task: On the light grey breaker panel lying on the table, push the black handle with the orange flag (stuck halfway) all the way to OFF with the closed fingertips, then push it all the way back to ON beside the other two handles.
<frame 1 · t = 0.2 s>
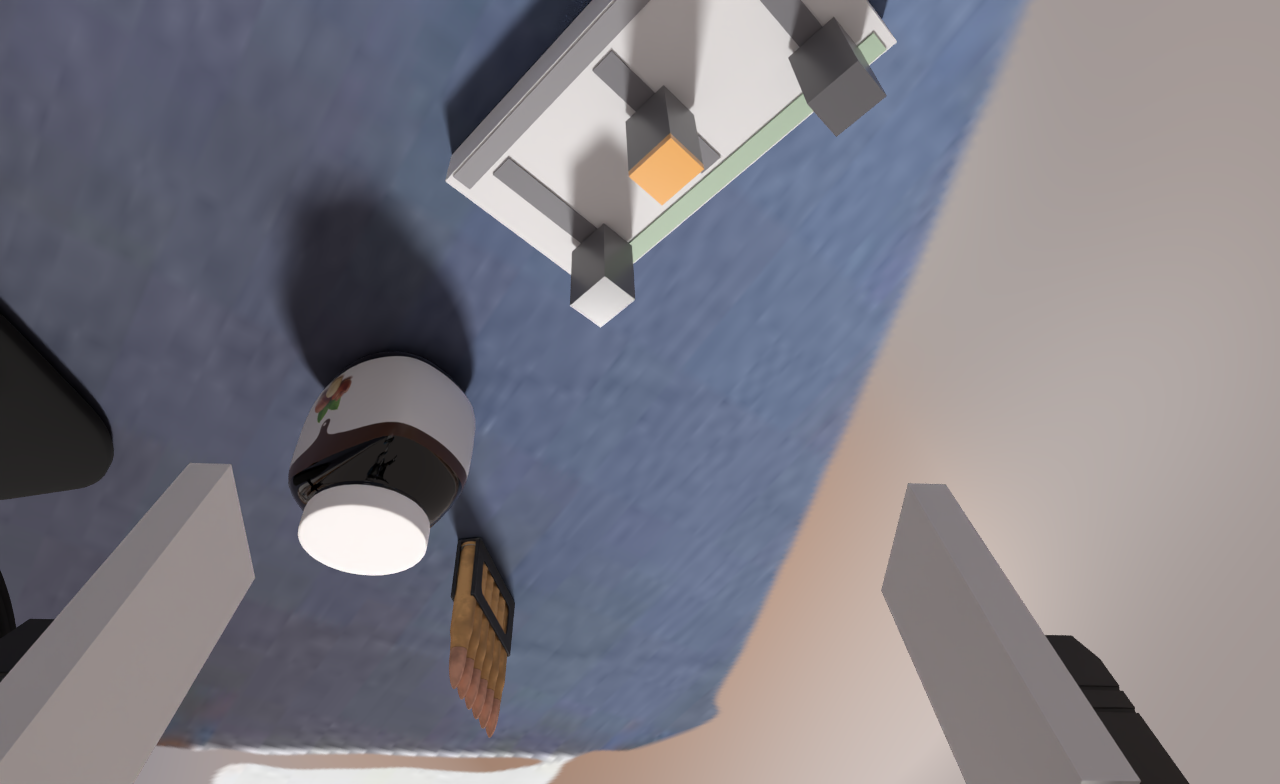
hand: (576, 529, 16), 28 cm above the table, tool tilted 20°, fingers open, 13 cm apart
handle c: (602, 274, 40), point 5 cm above the table, slide at 6.0 cm
ammunition clip: (488, 571, 68), on the table
spread jar: (407, 410, 54), on the table
handle a: (835, 75, 33), point 5 cm above the table, slide at 6.0 cm
tripped handle: (662, 144, 35), point 5 cm above the table, slide at 3.0 cm
breaker panel: (656, 90, 38), on the table
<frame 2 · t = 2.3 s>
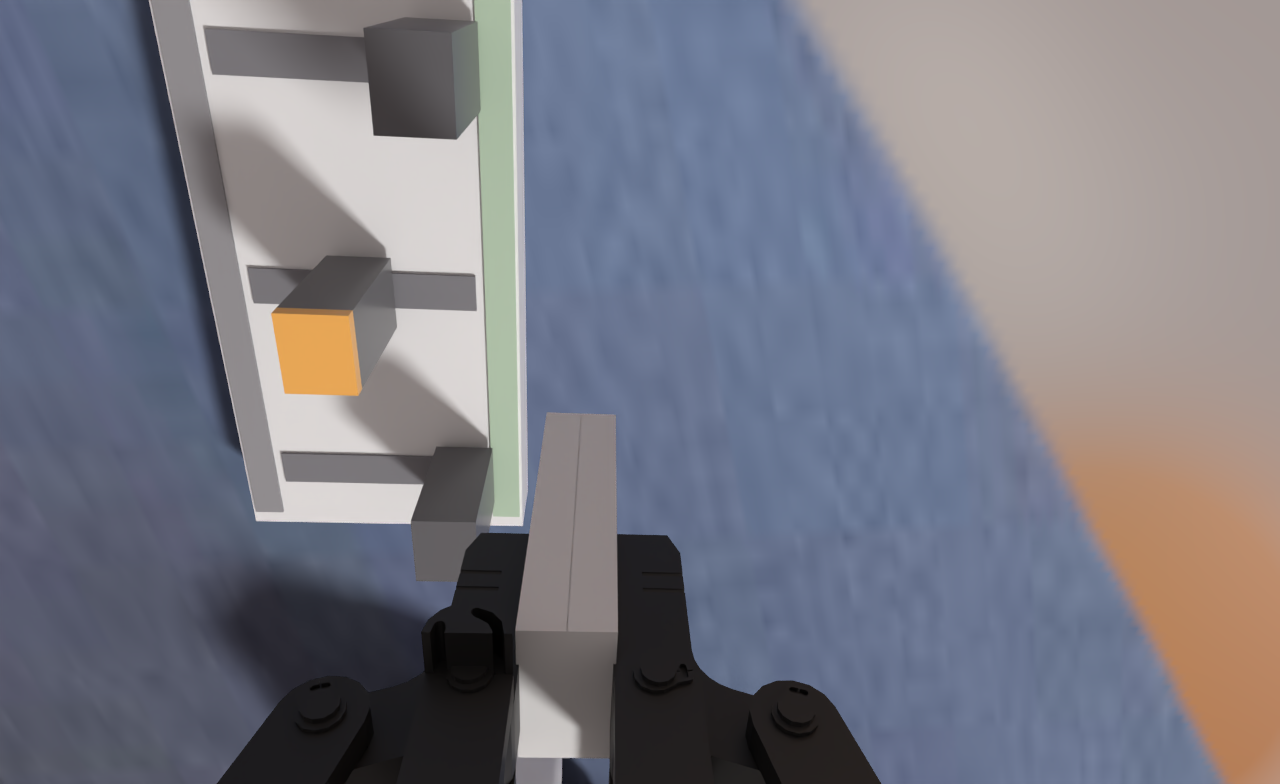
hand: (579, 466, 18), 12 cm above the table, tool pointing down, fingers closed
handle c: (456, 510, 27), point 5 cm above the table, slide at 6.0 cm
spread jar: (512, 765, 42), on the table
handle a: (429, 74, 21), point 5 cm above the table, slide at 6.0 cm
tripped handle: (341, 321, 24), point 5 cm above the table, slide at 3.0 cm
breaker panel: (383, 264, 28), on the table
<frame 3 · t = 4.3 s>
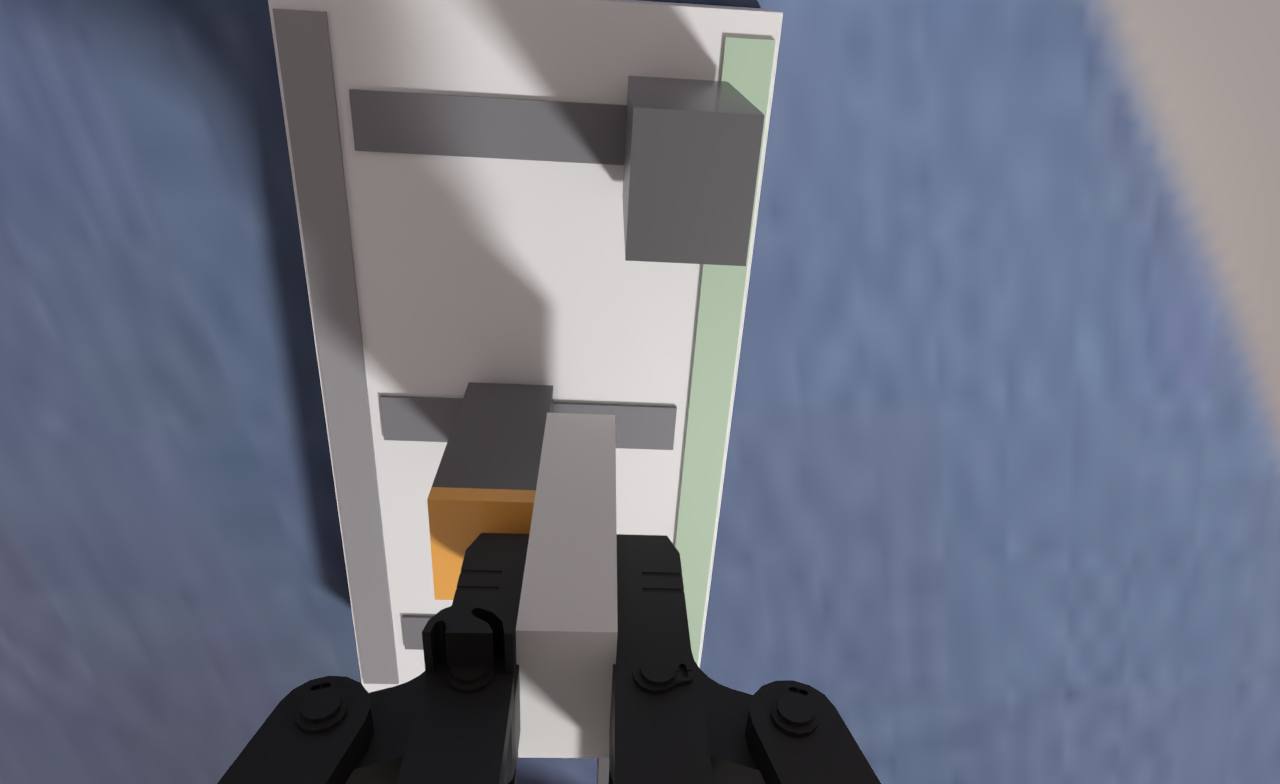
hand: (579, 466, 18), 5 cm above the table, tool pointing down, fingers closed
handle c: (637, 705, 21), point 5 cm above the table, slide at 6.0 cm
handle a: (681, 162, 15), point 5 cm above the table, slide at 6.0 cm
tripped handle: (499, 482, 17), point 5 cm above the table, slide at 2.6 cm, touching gripper
breaker panel: (538, 377, 22), on the table
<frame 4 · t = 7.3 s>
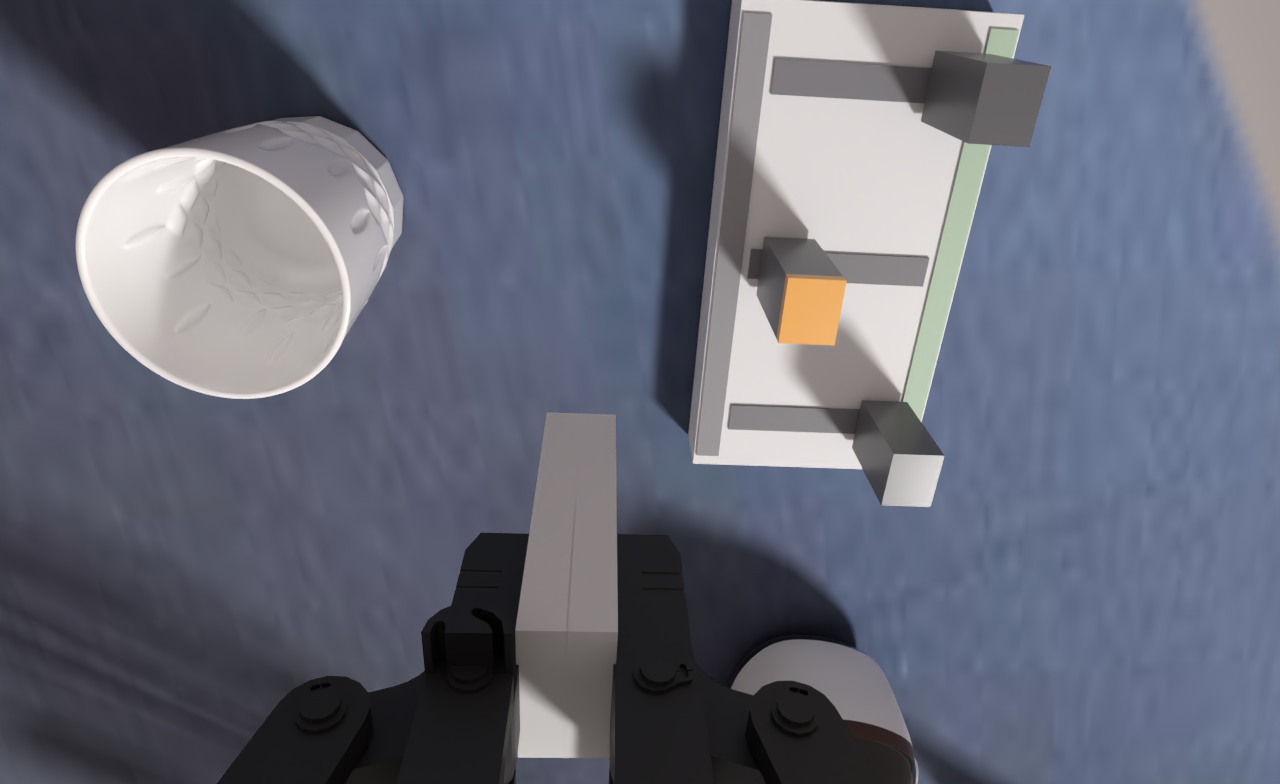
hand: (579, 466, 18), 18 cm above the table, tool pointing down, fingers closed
handle c: (894, 451, 33), point 5 cm above the table, slide at 6.0 cm
spread jar: (813, 694, 47), on the table
handle a: (979, 96, 27), point 5 cm above the table, slide at 6.0 cm
white cup: (323, 199, 33), on the table
tripped handle: (797, 288, 30), point 5 cm above the table, slide at 0.8 cm
breaker panel: (823, 248, 34), on the table
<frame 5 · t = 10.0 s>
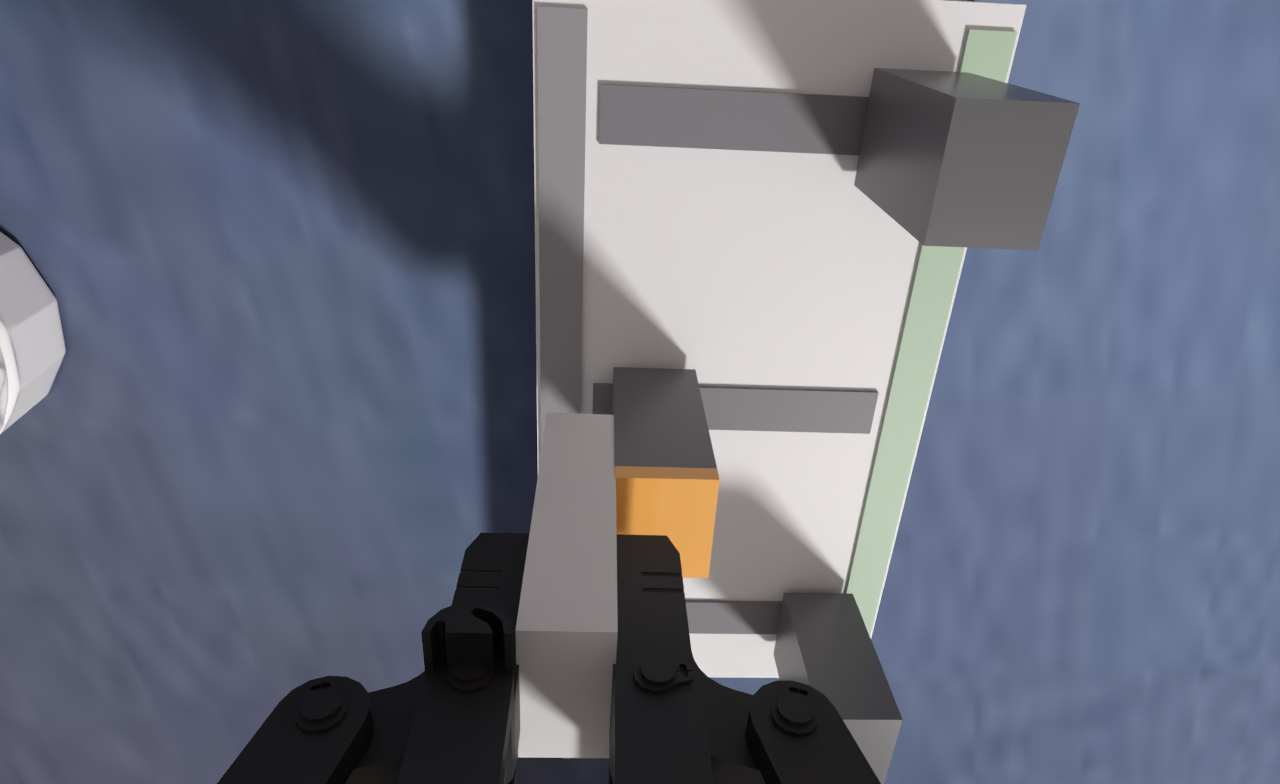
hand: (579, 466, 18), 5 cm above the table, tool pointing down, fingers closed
handle c: (830, 683, 22), point 5 cm above the table, slide at 6.0 cm
handle a: (948, 150, 15), point 5 cm above the table, slide at 6.0 cm
tripped handle: (656, 463, 18), point 5 cm above the table, slide at 0.9 cm, touching gripper
breaker panel: (721, 365, 23), on the table
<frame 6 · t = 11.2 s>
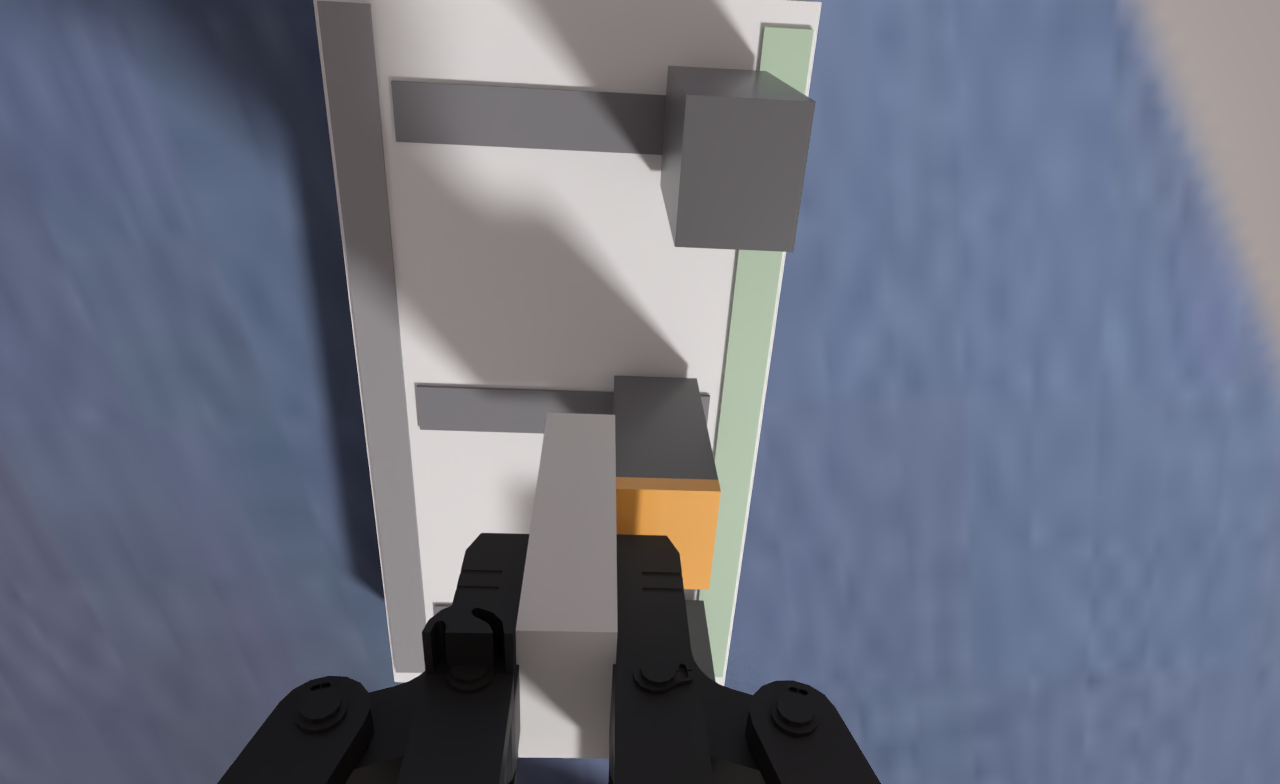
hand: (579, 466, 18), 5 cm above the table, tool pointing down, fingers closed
handle c: (670, 691, 21), point 5 cm above the table, slide at 6.0 cm
handle a: (724, 150, 15), point 5 cm above the table, slide at 6.0 cm
tripped handle: (657, 473, 18), point 5 cm above the table, slide at 5.2 cm, touching gripper
breaker panel: (569, 368, 22), on the table
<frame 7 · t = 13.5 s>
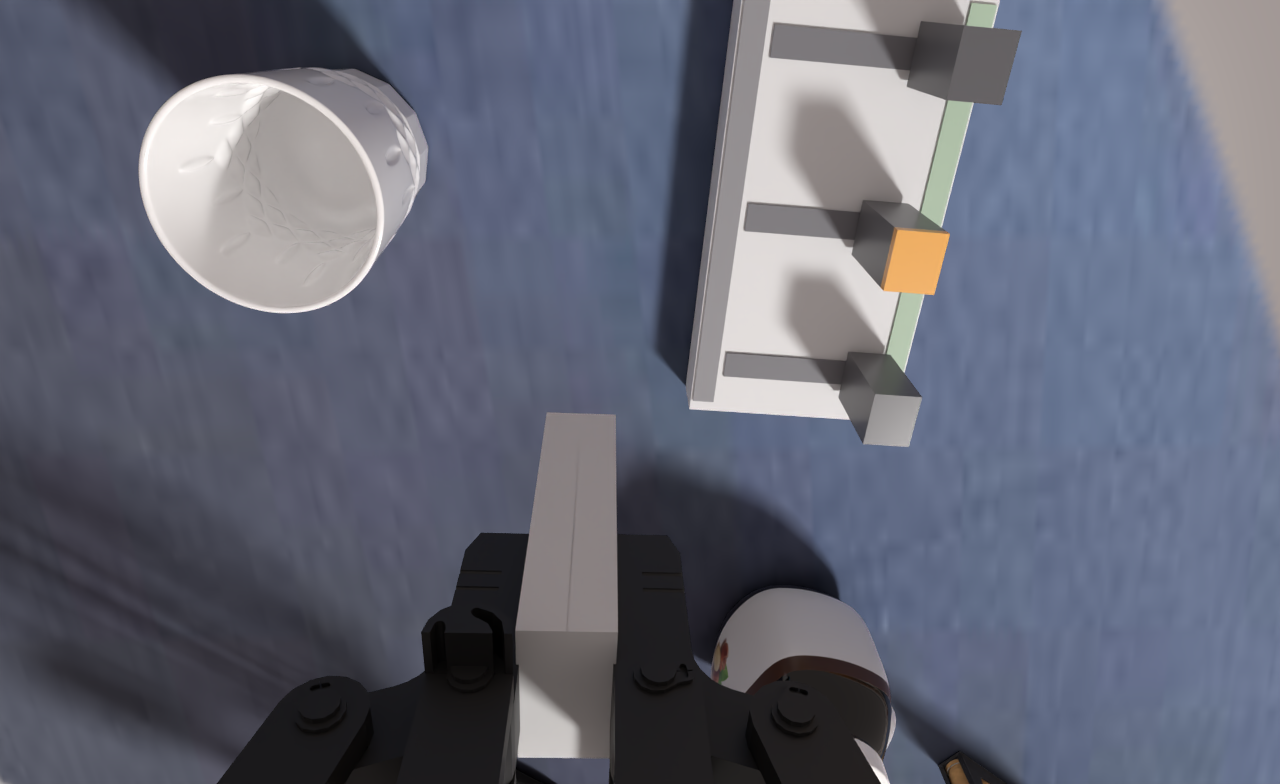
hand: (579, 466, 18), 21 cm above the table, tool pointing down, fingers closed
handle c: (877, 397, 36), point 5 cm above the table, slide at 6.0 cm
spread jar: (798, 647, 50), on the table
handle a: (959, 61, 30), point 5 cm above the table, slide at 6.0 cm
white cup: (354, 148, 36), on the table
tripped handle: (896, 245, 33), point 5 cm above the table, slide at 5.2 cm
breaker panel: (815, 209, 37), on the table
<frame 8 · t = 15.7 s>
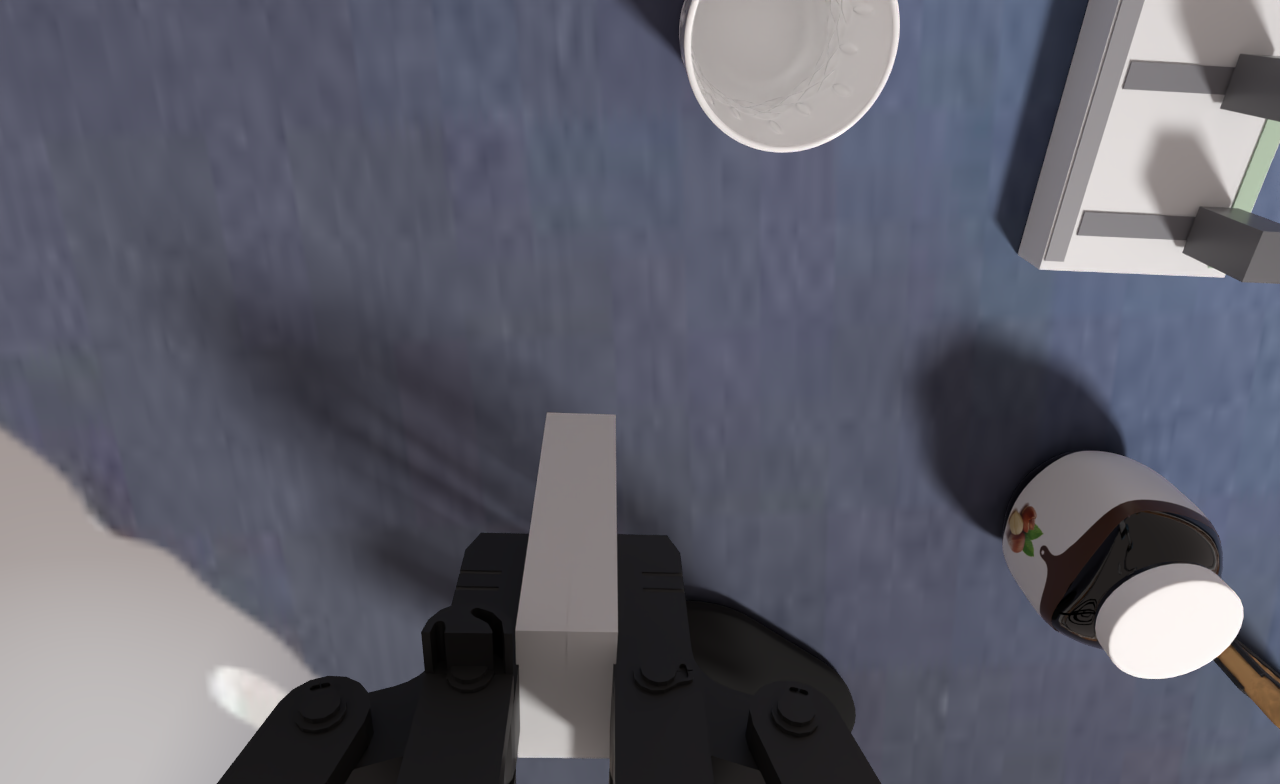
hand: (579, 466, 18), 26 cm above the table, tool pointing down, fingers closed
handle c: (1239, 243, 39), point 5 cm above the table, slide at 6.0 cm
ammunition clip: (1238, 656, 59), on the table
spread jar: (1076, 517, 53), on the table
white cup: (749, 26, 38), on the table
breaker panel: (1167, 73, 40), on the table
desk fan: (723, 689, 59), on the table
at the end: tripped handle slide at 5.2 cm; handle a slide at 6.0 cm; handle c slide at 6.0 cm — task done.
